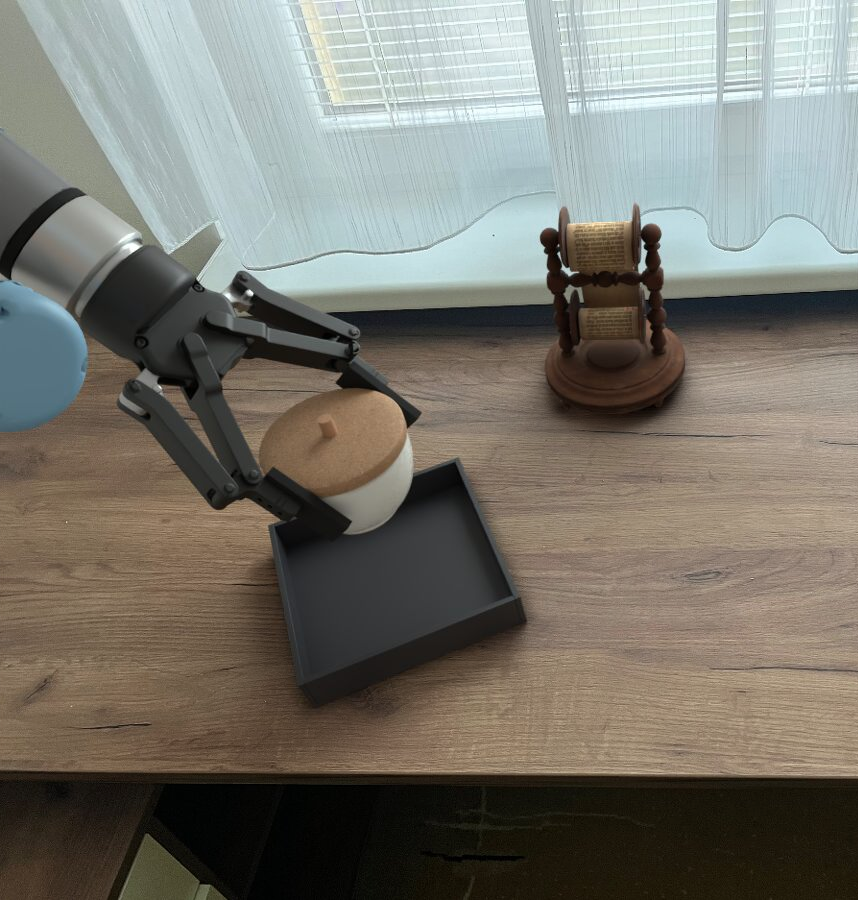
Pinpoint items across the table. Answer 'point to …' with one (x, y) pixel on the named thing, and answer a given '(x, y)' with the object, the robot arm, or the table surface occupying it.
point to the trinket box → (345, 453)
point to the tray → (393, 588)
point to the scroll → (609, 317)
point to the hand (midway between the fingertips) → (379, 474)
